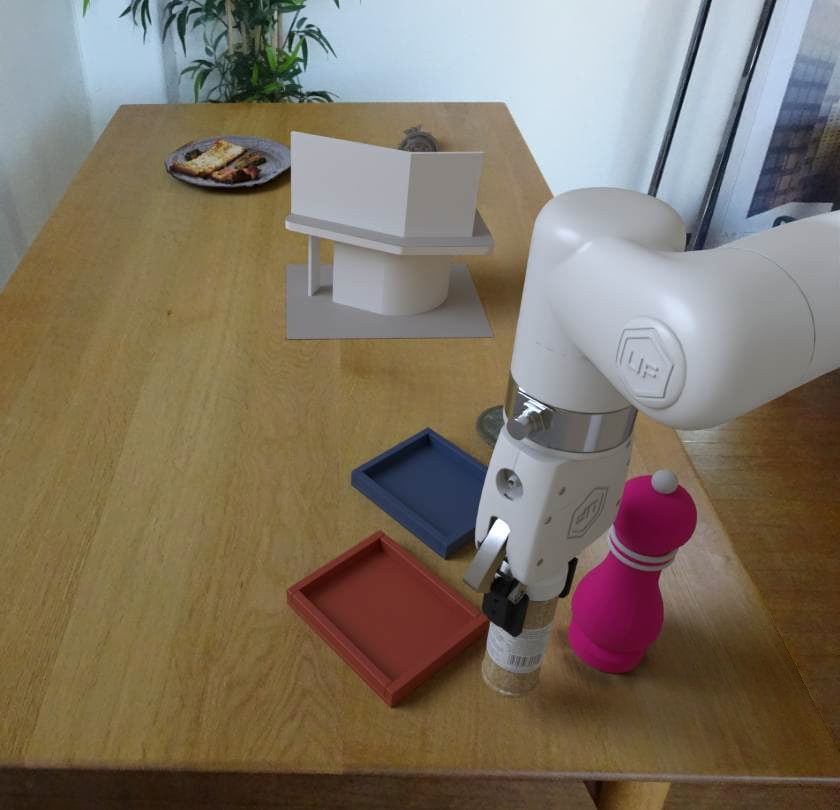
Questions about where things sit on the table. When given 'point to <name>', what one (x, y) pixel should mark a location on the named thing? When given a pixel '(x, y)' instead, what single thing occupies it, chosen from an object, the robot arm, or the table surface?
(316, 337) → the architectural model
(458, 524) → the blue tray
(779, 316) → the robot arm
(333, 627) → the red tray
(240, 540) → the table surface
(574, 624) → the pepper mill
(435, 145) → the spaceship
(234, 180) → the food plate
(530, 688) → the sprinkles bottle
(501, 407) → the lid
